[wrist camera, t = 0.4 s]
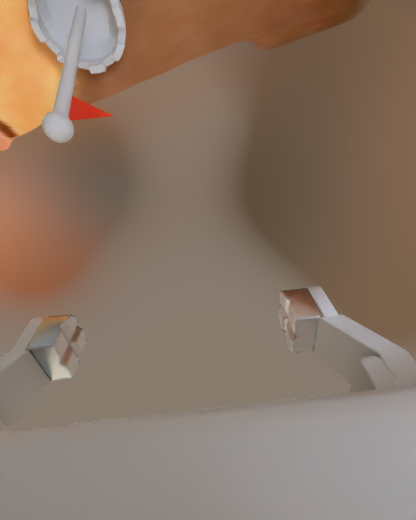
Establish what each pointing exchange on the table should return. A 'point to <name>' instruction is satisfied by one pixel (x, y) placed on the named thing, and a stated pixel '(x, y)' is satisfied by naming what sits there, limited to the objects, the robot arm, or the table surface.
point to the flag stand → (77, 51)
